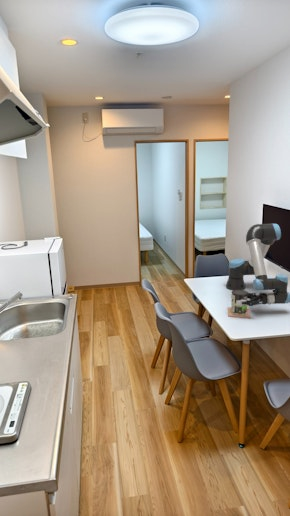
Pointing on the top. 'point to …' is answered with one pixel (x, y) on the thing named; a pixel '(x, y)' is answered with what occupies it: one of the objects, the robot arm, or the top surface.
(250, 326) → the top surface
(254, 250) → the robot arm
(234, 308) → the coffee can
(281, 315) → the top surface
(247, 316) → the terracotta tile
